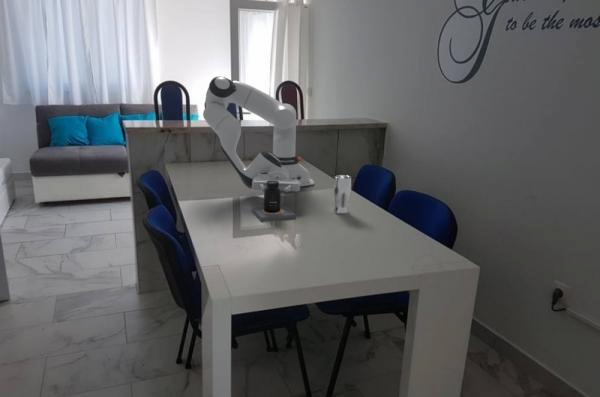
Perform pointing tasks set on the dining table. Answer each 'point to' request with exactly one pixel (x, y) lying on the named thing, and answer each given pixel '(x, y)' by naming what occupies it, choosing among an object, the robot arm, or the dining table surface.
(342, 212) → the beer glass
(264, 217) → the mat
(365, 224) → the dining table surface
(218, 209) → the dining table surface
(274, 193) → the supplement bottle
